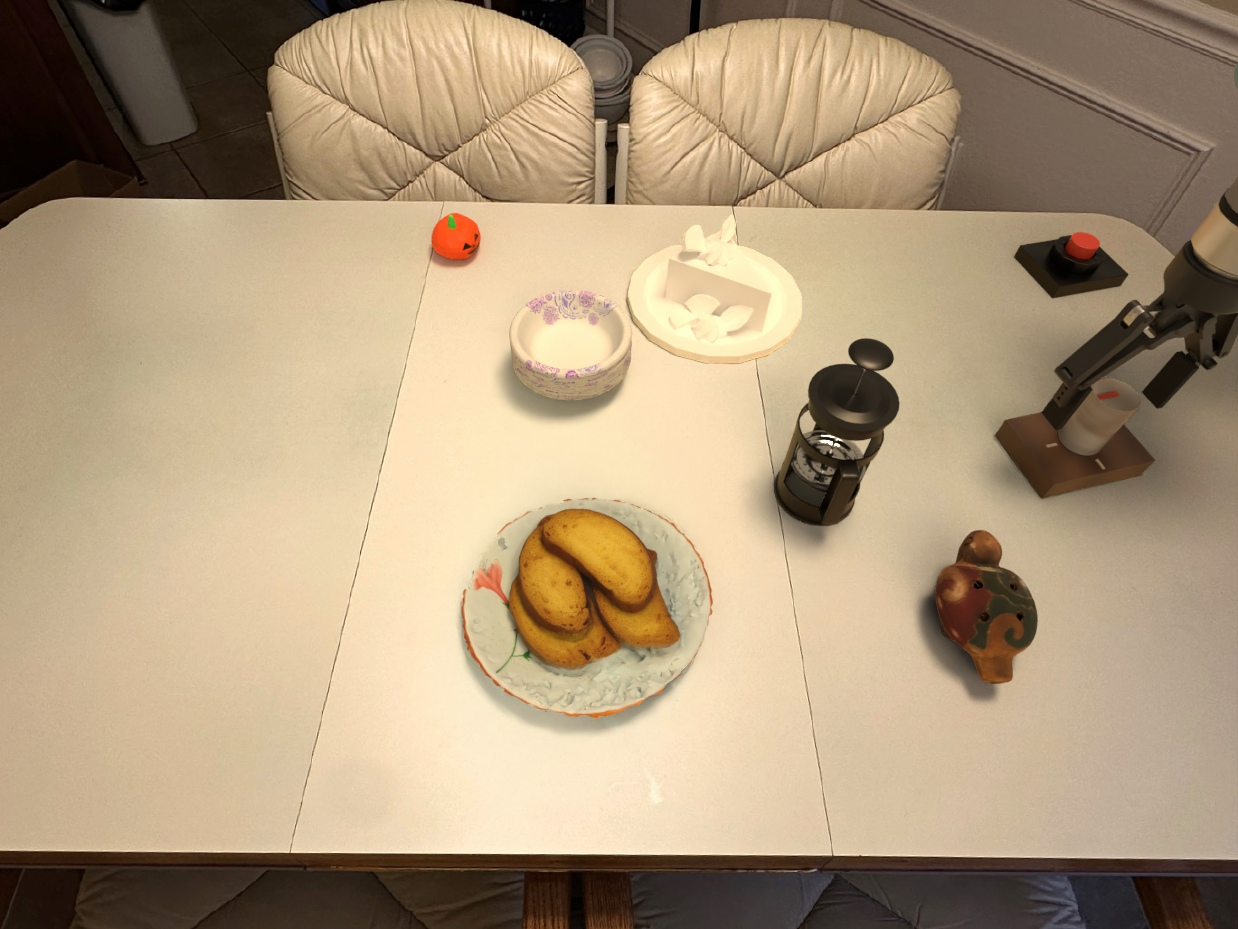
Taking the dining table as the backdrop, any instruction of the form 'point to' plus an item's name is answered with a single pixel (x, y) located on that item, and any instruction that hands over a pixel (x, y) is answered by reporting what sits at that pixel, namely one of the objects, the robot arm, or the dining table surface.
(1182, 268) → the robot arm
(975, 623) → the painted clay ocarina
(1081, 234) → the push knob
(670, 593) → the food on plate
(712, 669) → the dining table surface
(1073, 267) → the button housing
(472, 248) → the pumpkin
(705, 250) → the dish
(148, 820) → the dining table surface
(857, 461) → the french press
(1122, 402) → the dial
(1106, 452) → the dial panel
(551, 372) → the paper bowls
